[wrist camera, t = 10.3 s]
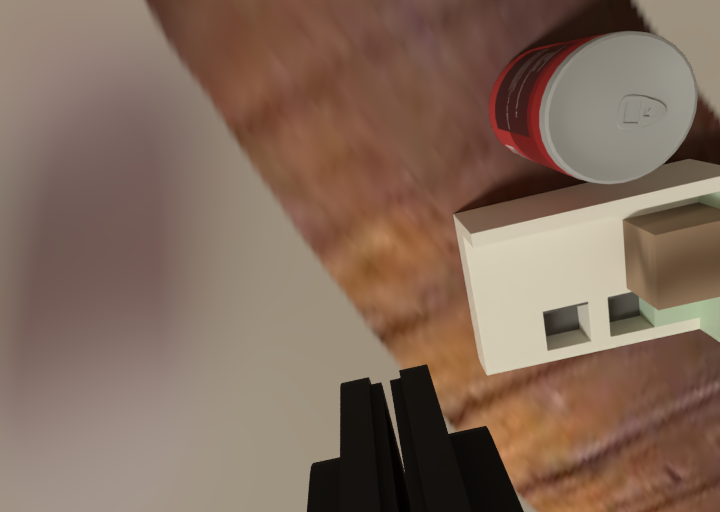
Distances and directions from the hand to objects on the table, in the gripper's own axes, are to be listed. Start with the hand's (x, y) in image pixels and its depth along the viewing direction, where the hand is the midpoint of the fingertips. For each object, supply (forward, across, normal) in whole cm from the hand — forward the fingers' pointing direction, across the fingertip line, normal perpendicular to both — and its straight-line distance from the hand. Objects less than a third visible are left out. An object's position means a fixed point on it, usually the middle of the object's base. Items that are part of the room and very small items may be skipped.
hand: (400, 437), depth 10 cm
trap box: (+29, -16, +11) cm, 35 cm away
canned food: (+29, -14, -2) cm, 33 cm away
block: (+27, -21, +10) cm, 35 cm away
